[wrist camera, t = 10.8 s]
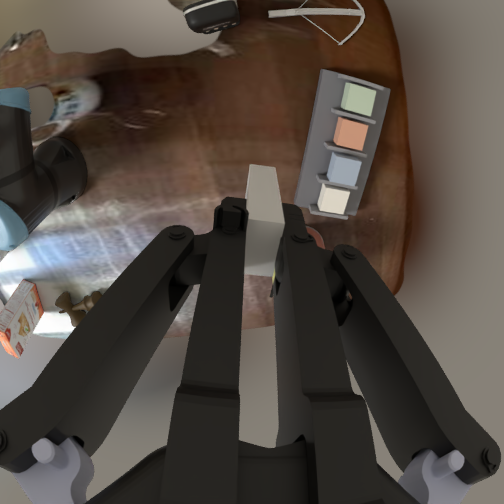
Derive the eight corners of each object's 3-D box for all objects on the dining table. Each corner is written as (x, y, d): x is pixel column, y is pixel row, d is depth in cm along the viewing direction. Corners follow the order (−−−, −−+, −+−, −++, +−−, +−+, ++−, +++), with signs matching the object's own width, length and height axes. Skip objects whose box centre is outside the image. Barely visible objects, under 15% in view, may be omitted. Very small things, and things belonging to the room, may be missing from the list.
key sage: (340, 107, 40) (345, 109, 38) (345, 82, 37) (350, 83, 35) (365, 113, 40) (370, 116, 38) (370, 89, 37) (376, 91, 35)
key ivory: (317, 204, 50) (319, 210, 48) (323, 181, 48) (326, 187, 46) (339, 207, 50) (343, 214, 48) (346, 186, 48) (350, 192, 46)
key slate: (326, 176, 46) (329, 181, 44) (332, 151, 43) (336, 156, 41) (350, 180, 46) (354, 186, 44) (356, 157, 43) (361, 162, 41)
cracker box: (45, 312, 76) (19, 360, 59) (32, 307, 75) (6, 352, 58) (36, 283, 68) (4, 334, 51) (23, 278, 67) (-10, 326, 50)
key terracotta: (333, 141, 43) (336, 144, 41) (338, 116, 41) (342, 118, 39) (357, 146, 43) (361, 150, 41) (363, 122, 41) (368, 125, 39)
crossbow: (354, -16, 28) (358, -18, 27) (366, 46, 36) (371, 45, 34) (261, -16, 29) (262, -19, 28) (275, 48, 37) (276, 47, 35)
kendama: (113, 305, 72) (72, 316, 76) (93, 279, 67) (53, 294, 71) (106, 320, 67) (65, 330, 71) (84, 294, 62) (45, 308, 66)
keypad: (293, 201, 53) (296, 212, 49) (320, 69, 38) (327, 69, 34) (352, 210, 54) (359, 222, 50) (385, 88, 39) (397, 90, 35)
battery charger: (202, 40, 36) (186, 31, 26) (196, 21, 33) (178, 8, 24) (244, 28, 34) (240, 15, 25) (238, 9, 32) (232, -9, 23)
